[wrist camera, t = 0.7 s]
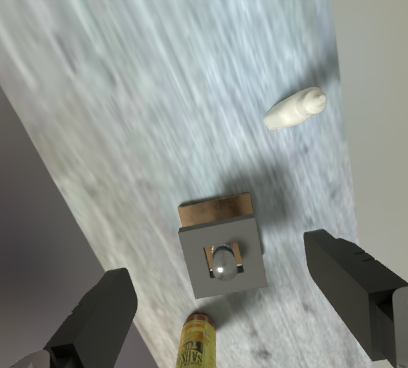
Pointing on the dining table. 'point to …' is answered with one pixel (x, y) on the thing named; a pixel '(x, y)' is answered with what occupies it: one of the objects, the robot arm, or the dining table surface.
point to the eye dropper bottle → (296, 108)
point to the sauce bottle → (197, 343)
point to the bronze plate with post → (212, 211)
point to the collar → (215, 235)
